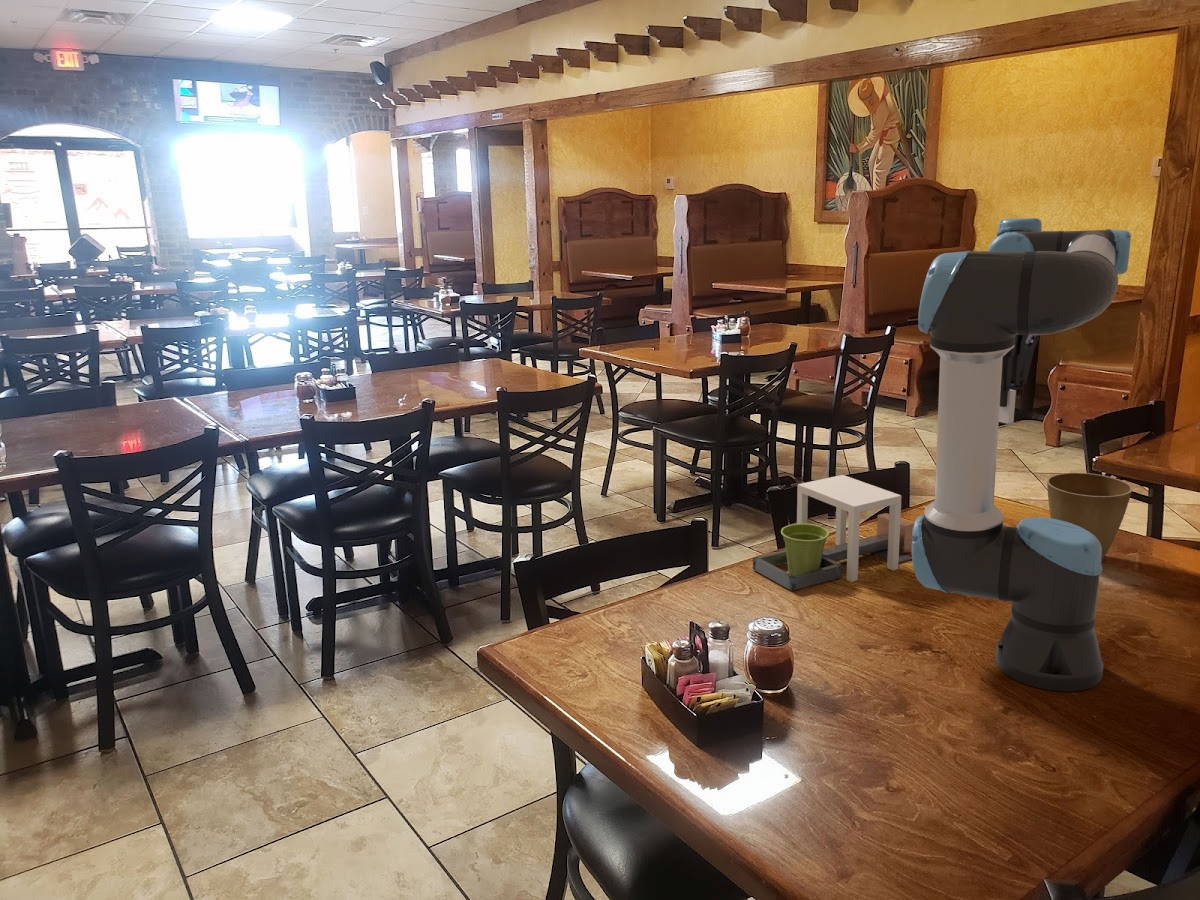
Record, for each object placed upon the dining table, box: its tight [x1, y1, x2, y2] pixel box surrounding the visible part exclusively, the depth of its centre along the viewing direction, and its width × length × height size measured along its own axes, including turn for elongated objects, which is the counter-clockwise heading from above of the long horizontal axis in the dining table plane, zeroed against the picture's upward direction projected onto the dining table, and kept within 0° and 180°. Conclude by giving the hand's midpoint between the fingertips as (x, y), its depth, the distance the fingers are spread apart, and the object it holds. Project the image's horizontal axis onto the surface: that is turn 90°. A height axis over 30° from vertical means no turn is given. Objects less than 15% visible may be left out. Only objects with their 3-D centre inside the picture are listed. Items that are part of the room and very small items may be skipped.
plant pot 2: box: [1046, 472, 1133, 562], centre depth 183 cm, size 15×15×16 cm
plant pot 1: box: [780, 523, 830, 576], centre depth 183 cm, size 9×9×9 cm
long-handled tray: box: [752, 512, 915, 592], centre depth 187 cm, size 12×33×6 cm, turn 117°
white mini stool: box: [796, 474, 912, 583], centre depth 188 cm, size 17×18×16 cm
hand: (1005, 421), depth 180 cm, fingers closed
